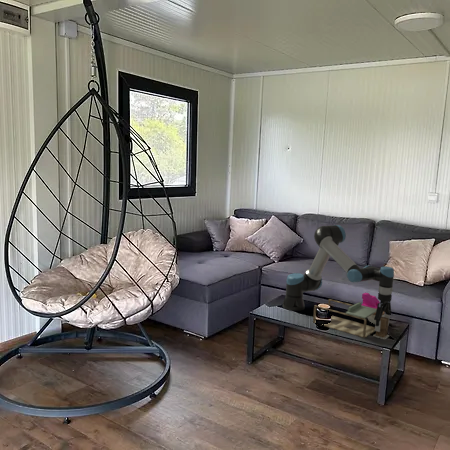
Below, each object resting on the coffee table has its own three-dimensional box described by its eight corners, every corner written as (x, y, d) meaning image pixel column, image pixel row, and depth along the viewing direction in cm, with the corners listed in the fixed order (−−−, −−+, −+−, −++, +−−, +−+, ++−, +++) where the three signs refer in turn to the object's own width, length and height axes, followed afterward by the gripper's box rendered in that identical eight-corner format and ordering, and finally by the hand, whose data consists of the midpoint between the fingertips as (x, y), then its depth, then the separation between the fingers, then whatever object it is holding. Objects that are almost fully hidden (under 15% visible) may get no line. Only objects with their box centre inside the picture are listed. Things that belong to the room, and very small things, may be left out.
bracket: (361, 307, 318) (362, 293, 316) (367, 304, 325) (368, 291, 324) (377, 312, 310) (378, 297, 308) (383, 309, 317) (385, 295, 316)
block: (383, 337, 262) (385, 320, 261) (375, 335, 265) (377, 318, 264) (387, 335, 266) (388, 318, 265) (378, 332, 269) (380, 316, 268)
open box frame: (312, 322, 284) (314, 305, 282) (328, 315, 299) (329, 298, 297) (364, 337, 262) (366, 319, 260) (377, 329, 277) (379, 311, 276)
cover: (345, 313, 269) (346, 308, 268) (359, 306, 284) (360, 301, 283) (364, 318, 261) (365, 313, 260) (378, 310, 276) (378, 305, 276)
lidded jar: (384, 326, 282) (386, 312, 281) (367, 324, 284) (368, 310, 283) (382, 320, 293) (383, 306, 291) (365, 318, 295) (366, 305, 294)
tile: (373, 336, 265) (373, 335, 265) (377, 333, 271) (377, 332, 271) (384, 339, 261) (384, 338, 261) (389, 336, 266) (389, 335, 266)
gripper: (383, 299, 250) (379, 335, 253) (399, 290, 269) (395, 324, 272) (370, 296, 255) (367, 331, 258) (386, 287, 274) (383, 321, 277)
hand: (381, 328), depth 265 cm, fingers open, 13 cm apart
